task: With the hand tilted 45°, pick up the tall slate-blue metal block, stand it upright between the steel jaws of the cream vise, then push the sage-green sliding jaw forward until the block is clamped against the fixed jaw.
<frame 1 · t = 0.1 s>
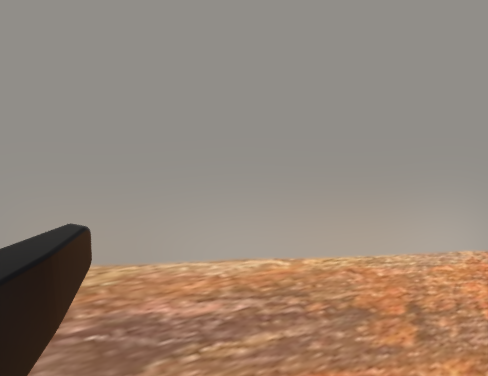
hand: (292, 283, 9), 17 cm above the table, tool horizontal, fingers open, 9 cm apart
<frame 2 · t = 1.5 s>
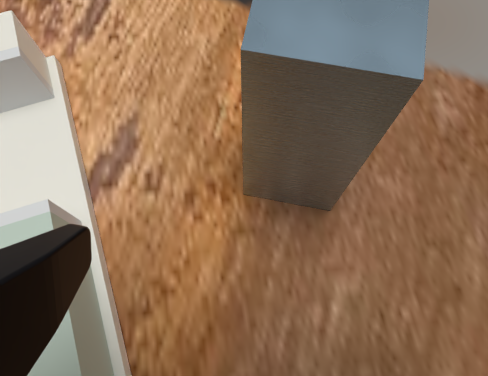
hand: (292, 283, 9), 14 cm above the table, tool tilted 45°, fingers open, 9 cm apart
slate-blue block: (291, 170, 24), on the table
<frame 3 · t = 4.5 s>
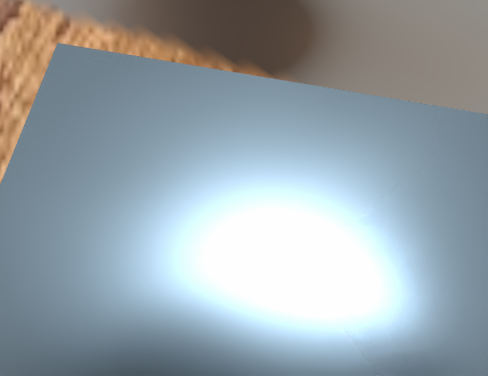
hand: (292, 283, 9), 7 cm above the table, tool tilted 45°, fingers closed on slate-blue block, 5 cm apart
slate-blue block: (266, 342, 15), on the table, touching gripper
when the fingers open (8 cm above the table, at t = 9.8 s): slate-blue block stays where it is, resting on vise bed.
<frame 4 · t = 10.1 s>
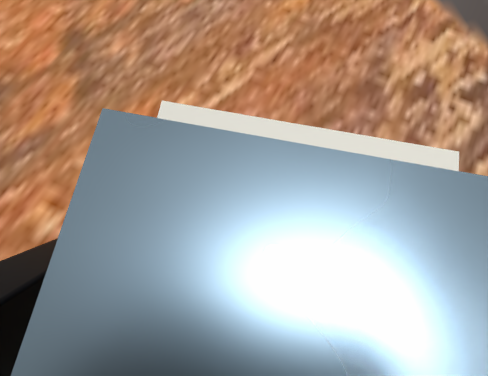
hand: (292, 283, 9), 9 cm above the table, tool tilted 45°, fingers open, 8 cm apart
slate-blue block: (265, 340, 15), point 1 cm above the table, touching vise bed
vise bed: (263, 340, 16), on the table
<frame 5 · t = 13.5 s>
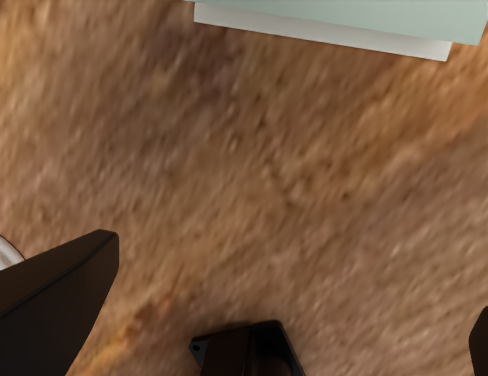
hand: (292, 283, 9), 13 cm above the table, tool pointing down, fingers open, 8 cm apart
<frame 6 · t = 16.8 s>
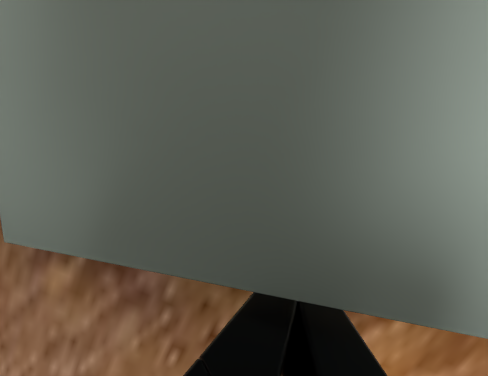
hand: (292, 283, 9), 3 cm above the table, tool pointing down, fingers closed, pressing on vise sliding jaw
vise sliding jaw: (352, 24, 7), point 3 cm above the table, slide at 1.1 cm, touching gripper
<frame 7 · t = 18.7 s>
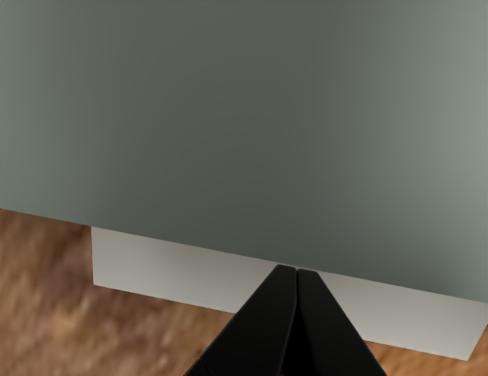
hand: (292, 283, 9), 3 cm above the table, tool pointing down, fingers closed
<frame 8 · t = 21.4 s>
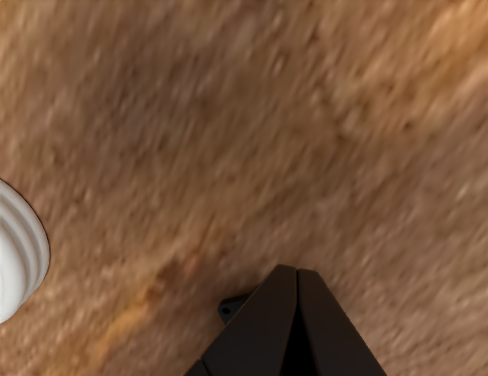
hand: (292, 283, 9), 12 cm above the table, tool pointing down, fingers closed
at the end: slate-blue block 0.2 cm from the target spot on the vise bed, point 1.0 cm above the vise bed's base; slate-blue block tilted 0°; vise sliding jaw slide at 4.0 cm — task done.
